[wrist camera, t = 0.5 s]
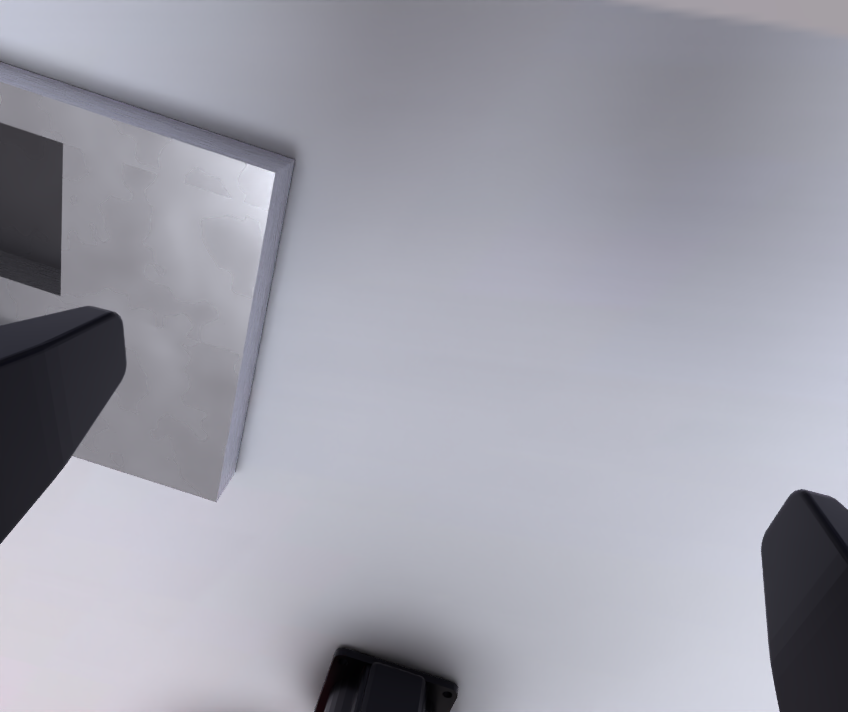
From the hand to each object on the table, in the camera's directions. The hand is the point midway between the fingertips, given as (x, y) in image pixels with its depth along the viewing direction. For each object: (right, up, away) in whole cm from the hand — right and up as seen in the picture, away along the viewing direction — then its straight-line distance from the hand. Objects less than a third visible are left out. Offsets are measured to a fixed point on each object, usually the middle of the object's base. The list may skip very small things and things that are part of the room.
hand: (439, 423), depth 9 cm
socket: (-13, +4, +16) cm, 21 cm away
